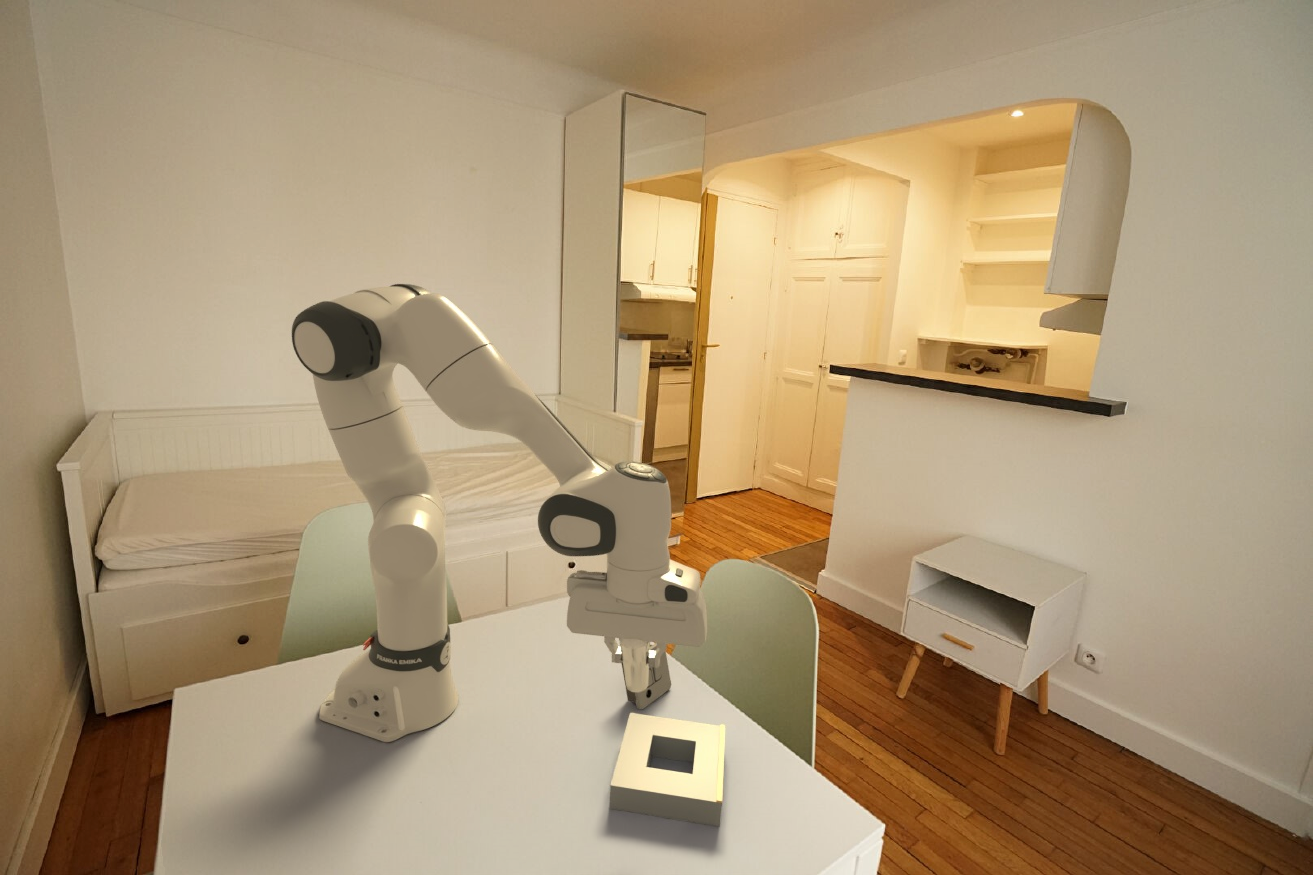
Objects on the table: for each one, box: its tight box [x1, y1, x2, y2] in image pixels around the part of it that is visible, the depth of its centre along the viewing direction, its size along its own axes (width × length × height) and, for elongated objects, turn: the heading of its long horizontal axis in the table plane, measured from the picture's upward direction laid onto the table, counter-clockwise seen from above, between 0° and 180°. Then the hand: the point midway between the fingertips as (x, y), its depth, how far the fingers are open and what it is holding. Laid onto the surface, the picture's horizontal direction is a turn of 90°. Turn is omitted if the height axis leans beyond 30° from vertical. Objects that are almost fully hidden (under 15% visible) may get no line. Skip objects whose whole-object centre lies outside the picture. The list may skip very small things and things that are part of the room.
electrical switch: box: [621, 642, 672, 710], centre depth 114 cm, size 9×5×9 cm, turn 141°
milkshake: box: [618, 638, 651, 692], centre depth 89 cm, size 4×5×10 cm
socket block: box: [608, 712, 726, 828], centre depth 95 cm, size 16×16×4 cm
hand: (635, 662), depth 90 cm, fingers closed on milkshake, 4 cm apart
